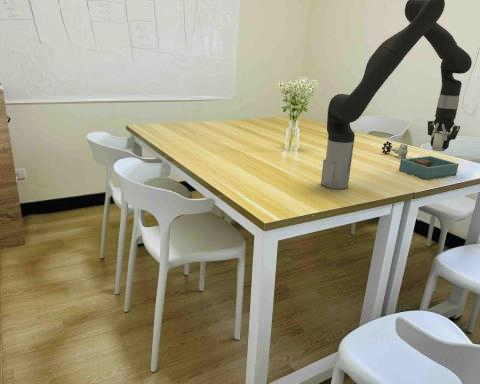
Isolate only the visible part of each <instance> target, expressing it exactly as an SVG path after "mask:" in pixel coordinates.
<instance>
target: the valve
mask: <svg viewBox="0 0 480 384" xmlns="http://www.w3.org/2000/svg"><path fill="white" fill-rule="evenodd" d="M408 146H409V145H407V144H400V145H399V147H393V146H392V142H390V141H388V140H386V142H384V143H383V146H382V147H381V149H382V154H385V155H388V153H391V152H393V153H395V154H397V155H398V156H397V159H399V160H401V159H407V155H408V148H409V147H408Z"/></svg>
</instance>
